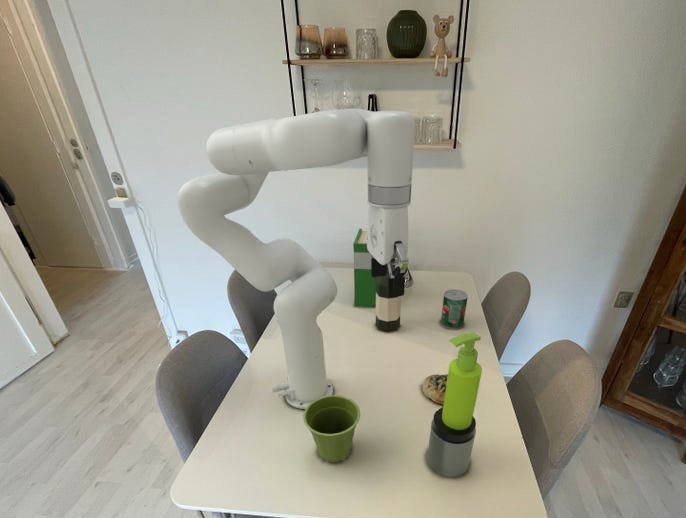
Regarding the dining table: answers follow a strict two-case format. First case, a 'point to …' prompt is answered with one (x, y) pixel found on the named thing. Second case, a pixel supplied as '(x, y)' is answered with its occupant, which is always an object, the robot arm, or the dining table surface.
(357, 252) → the hardback book
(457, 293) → the canned tomato
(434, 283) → the dining table surface
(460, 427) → the soap dispenser
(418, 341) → the dining table surface
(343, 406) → the plant pot
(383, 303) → the wine bottle
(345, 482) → the dining table surface
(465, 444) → the grey and black cylinder
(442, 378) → the bread roll
